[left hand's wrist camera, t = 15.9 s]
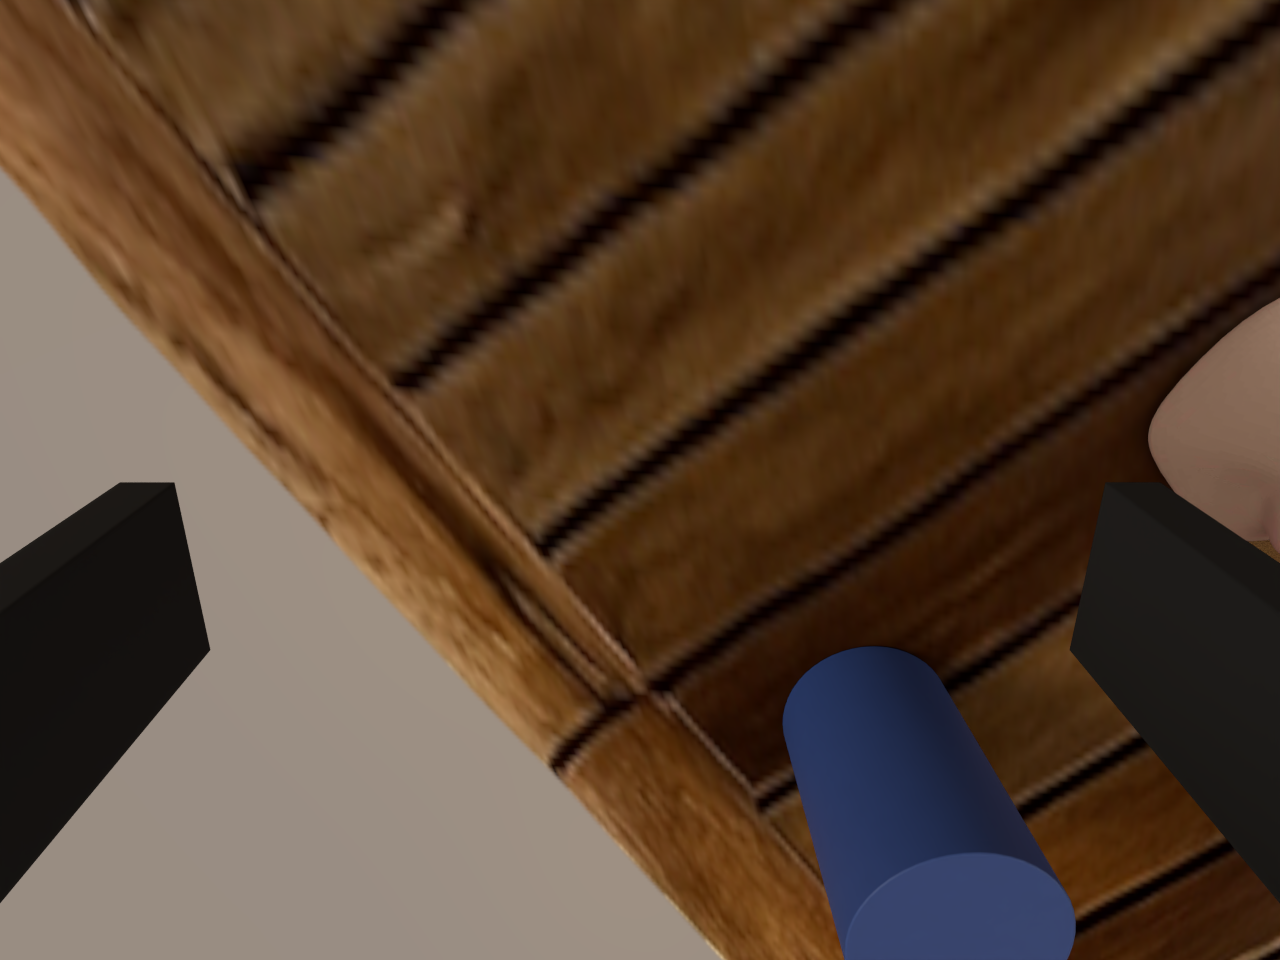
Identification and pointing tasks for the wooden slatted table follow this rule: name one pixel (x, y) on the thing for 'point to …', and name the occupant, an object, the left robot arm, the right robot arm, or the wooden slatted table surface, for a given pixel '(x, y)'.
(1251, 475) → the anatomical model
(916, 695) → the canister
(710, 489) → the wooden slatted table surface
